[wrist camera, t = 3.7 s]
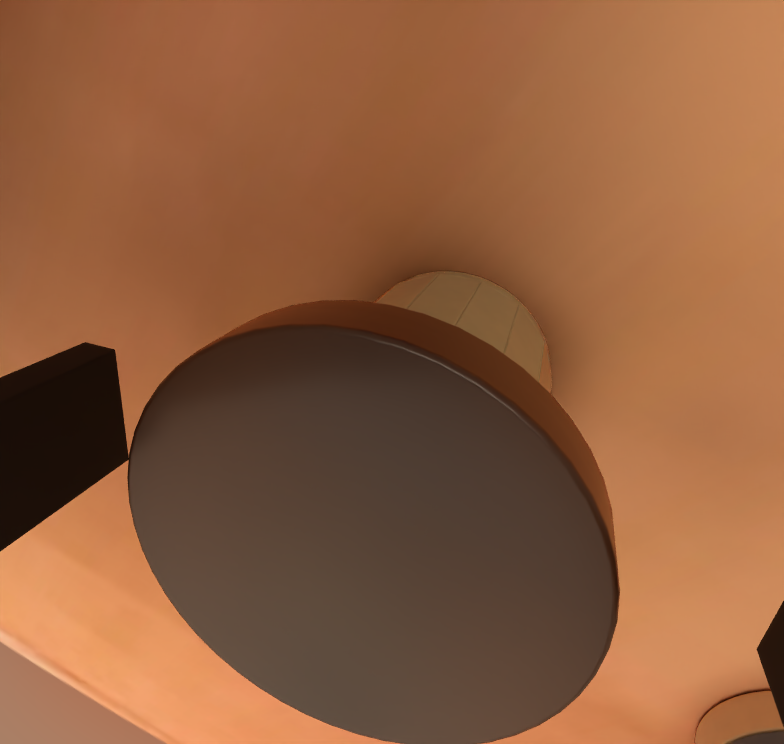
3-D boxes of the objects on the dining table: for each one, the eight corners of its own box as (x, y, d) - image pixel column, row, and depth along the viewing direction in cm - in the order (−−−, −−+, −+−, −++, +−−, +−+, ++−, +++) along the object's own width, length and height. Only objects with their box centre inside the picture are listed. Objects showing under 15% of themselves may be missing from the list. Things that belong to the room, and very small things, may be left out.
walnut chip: (187, 609, 11) (148, 657, 10) (155, 257, 8) (94, 276, 7) (550, 738, 10) (547, 810, 9) (687, 359, 7) (709, 402, 6)
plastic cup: (350, 428, 16) (232, 587, 11) (363, 254, 14) (222, 339, 8) (527, 473, 15) (500, 676, 10) (572, 291, 13) (572, 417, 7)
